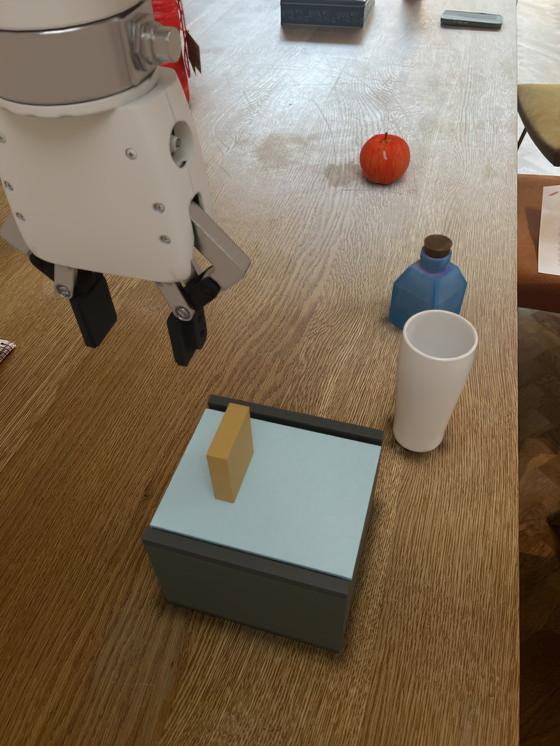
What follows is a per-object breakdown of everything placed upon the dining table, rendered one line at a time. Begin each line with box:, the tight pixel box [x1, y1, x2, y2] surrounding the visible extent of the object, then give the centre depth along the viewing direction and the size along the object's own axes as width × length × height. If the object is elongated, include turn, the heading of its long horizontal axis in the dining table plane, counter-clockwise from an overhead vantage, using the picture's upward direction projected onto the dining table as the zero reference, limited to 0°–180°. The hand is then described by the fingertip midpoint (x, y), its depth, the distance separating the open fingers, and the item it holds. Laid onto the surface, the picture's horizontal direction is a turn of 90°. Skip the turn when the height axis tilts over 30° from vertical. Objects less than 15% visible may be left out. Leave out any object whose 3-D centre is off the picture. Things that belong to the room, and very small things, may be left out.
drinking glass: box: [392, 310, 479, 453], centre depth 60 cm, size 7×7×15 cm
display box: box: [140, 393, 385, 654], centre depth 53 cm, size 16×15×12 cm
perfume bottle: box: [387, 233, 468, 331], centre depth 73 cm, size 6×6×12 cm
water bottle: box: [151, 0, 202, 105], centre depth 111 cm, size 12×8×25 cm, turn 82°
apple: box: [358, 131, 411, 185], centre depth 98 cm, size 8×8×8 cm
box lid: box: [149, 403, 382, 580], centre depth 46 cm, size 16×12×6 cm
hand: (145, 340), depth 40 cm, fingers open, 5 cm apart
